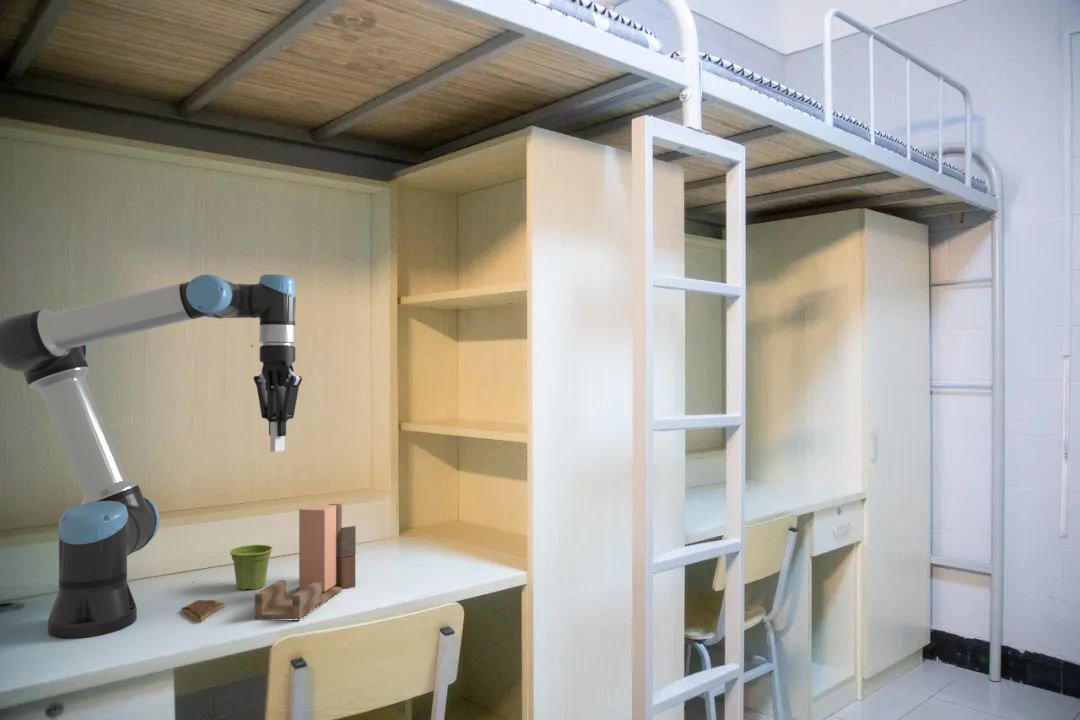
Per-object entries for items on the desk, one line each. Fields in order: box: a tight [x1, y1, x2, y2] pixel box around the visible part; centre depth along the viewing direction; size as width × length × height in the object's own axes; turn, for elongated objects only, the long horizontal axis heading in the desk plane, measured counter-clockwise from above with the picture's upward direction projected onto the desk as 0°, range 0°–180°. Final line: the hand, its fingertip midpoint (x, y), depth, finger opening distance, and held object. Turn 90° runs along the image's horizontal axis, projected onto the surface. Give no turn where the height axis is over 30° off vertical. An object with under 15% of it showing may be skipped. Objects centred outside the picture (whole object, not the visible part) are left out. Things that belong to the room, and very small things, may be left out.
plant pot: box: [229, 544, 274, 591], centre depth 174 cm, size 9×9×9 cm
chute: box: [254, 579, 342, 621], centre depth 160 cm, size 20×10×5 cm, turn 171°
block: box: [298, 504, 336, 592], centre depth 169 cm, size 6×6×18 cm
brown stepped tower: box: [328, 503, 357, 590], centre depth 177 cm, size 4×11×18 cm, turn 37°
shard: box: [181, 599, 226, 623], centre depth 154 cm, size 11×8×2 cm
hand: (277, 450), depth 166 cm, fingers closed
